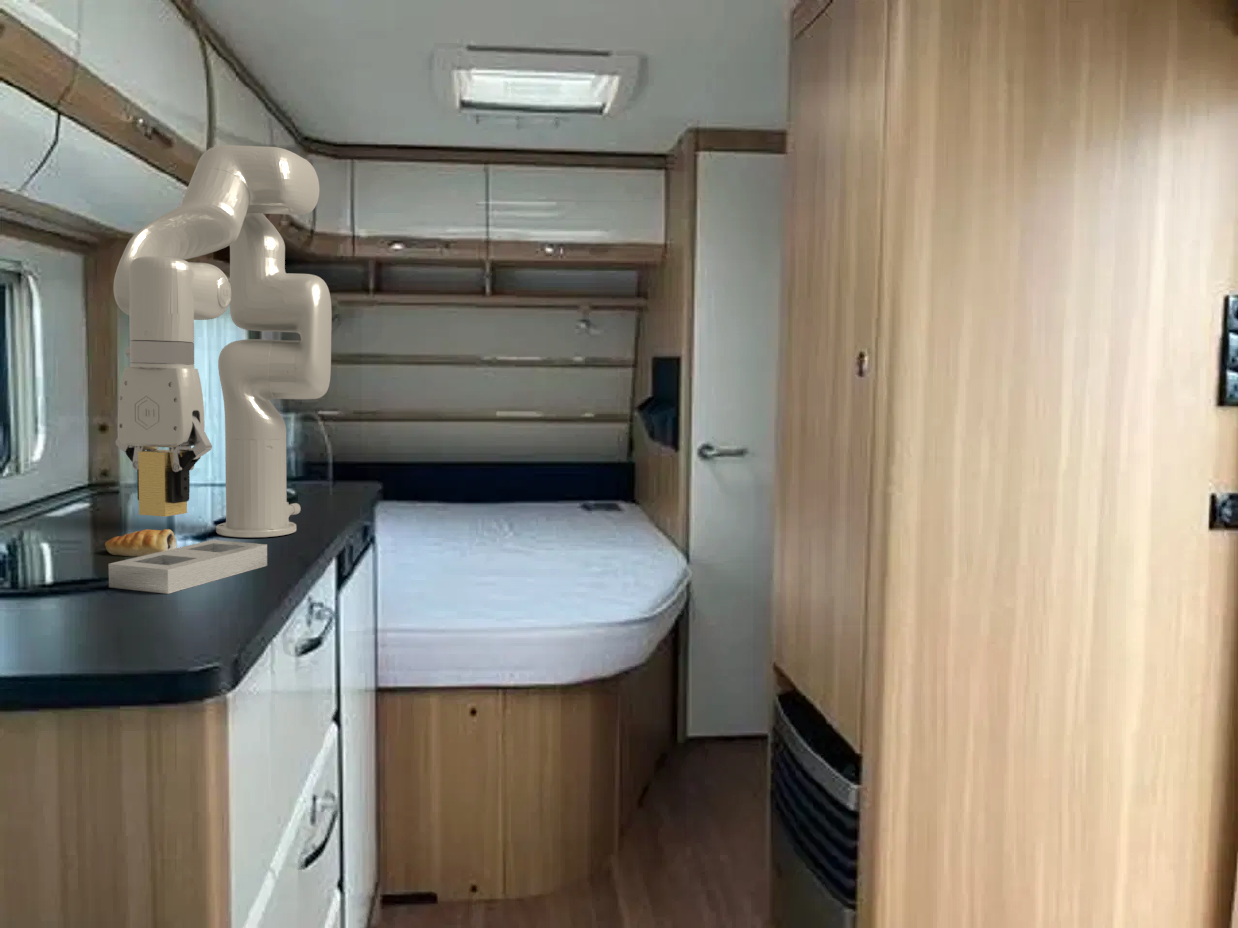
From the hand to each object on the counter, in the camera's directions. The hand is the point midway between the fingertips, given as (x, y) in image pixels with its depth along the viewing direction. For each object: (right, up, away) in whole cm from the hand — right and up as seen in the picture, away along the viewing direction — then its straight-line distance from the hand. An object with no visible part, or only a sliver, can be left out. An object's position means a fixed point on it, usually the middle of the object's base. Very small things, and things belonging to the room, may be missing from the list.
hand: (163, 499), depth 141 cm
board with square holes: (+1, -10, +6) cm, 12 cm away
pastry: (-12, -9, +22) cm, 26 cm away
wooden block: (0, -2, 0) cm, 2 cm away
